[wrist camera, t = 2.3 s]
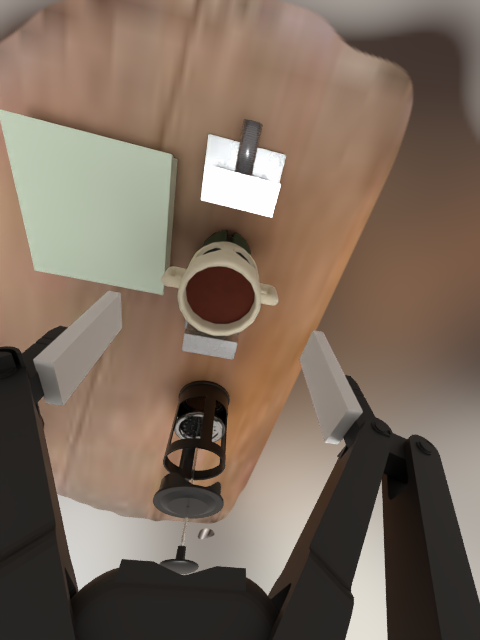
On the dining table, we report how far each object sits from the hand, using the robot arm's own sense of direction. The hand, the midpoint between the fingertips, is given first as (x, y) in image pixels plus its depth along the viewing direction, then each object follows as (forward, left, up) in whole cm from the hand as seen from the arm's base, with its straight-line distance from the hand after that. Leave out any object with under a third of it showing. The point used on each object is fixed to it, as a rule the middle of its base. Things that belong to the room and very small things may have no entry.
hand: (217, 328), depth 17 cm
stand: (-14, +2, -17) cm, 22 cm away
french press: (+1, -28, -17) cm, 33 cm away
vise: (0, 0, -17) cm, 17 cm away
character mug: (0, 0, -17) cm, 17 cm away
